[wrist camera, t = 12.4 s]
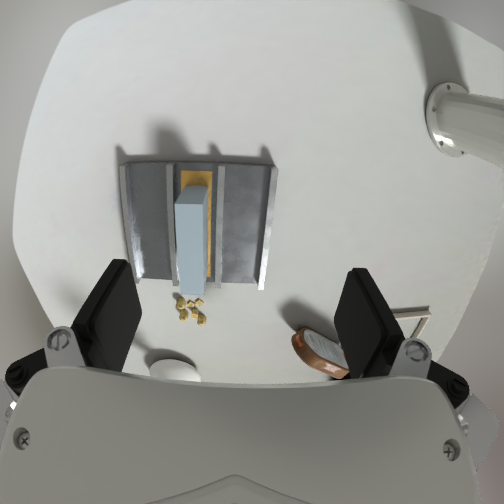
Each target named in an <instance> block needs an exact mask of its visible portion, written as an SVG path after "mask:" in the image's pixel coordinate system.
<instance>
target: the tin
mask: <svg viewBox="0 0 504 504" xmlns="http://www.w3.org/2000/svg"><path fill="white" fill-rule="evenodd" d="M291 341H292V345H293V348H294V350H295V352H296V353H297V355H298V356H299V357H300V358H301V359H302V361H303V362H305V363H306V364H307V365H308V366H310V367H312V368H314V369H316V370H318V371H321V372H323V373H326V374H328V375H330V376H333V377H335V378H338V379H341V378H343V377H344V376H345V375H346V374H347V373H348V372H349V368H348V365H347V362H346V359H345V355H344V352H343V349H342V348H341V347H340V346H339V345H338V344H337V343H335V342H334V341H332V340H330V339H328V338H326V337H325V336H323V335H321V334H319V333H318V332H316V331H314V330H312V329H310V328H307V327H304V328H302V329H301V330H299V331H298V332H297V333H296V334H294V335H293V336H292V339H291Z"/></svg>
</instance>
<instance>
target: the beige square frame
mask: <svg viewBox="0 0 504 504" xmlns="http://www.w3.org/2000/svg"><path fill="white" fill-rule="evenodd" d="M393 315H394V317H395V319H396V320H405V319H414V318H422V320H421V322H420V324H419V326H418V327H417V329H416V331H415V333H414V334H413V336H412V338H417V339H418V337H419V336H420V334H421V332H422V331H423V329H424V327H425V326H426V324H427V322H428V320H429V319H430V317H431V315H432V314H431V313H430V312H429V310H427V311H416V312H405V313H393Z"/></svg>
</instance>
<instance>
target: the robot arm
mask: <svg viewBox="0 0 504 504" xmlns="http://www.w3.org/2000/svg"><path fill="white" fill-rule="evenodd" d="M426 119H427V126H428V130H429V133H430V136H431V138H432V140H433V142H434V144H435V145H436V146H437V148H438V149H439V150H440V151H442V152H443V153H444V154H446V155H449V156H452V157H462V156H464V155H466V154H467V153H469V154H471V155H474V156H476V157H479V158H481V159H484V160H486V161H488V162H490V163H493V164H495V165H497V166H499V167H502V168H504V99H499V98H494V97H488V96H482V95H475V94H469V93H468V92H467V91H466V90H465V89H464V88H463V87H462V86H460V85H458V84H456V83H451V82H444V83H441V84H439V85H437V86H436V87H435V88H434V89H433V90H432V92H431V94H430V96H429V99H428V102H427V108H426ZM141 316H142V309H141V305H140V301H139V297H138V293H137V289H136V285H135V281H134V276H133V272H132V267H131V264H130V263H128V262H127V260H125V259H113V260H112V261H111V263H110V264H109V266H108V267H107V269H106V270H105V272H104V273H103V275H102V276H101V278H100V279H99V281H98V282H97V284H96V285H95V287H94V288H93V290H92V292H91V293H90V295H89V296H88V298H87V300H86V301H85V303H84V304H83V306H82V308H81V309H80V311H79V313H78V314H77V316H76V318H75V320H74V321H73V324H72V326H71V327H70V328H69V327H66V326H60V327H56V328H54V329H52V330H51V331H50V332H49V333H48V334H47V335H46V337H45V339H44V348H42V349H40V350H38V351H36V352H34V353H32V354H30V355H28V356H26V357H24V358H22V359H20V360H17V361H15V362H14V363H12V364H11V365H10V366H9V367H8V369H7V371H6V374H5V381H4V382H3V380H0V504H482V501H481V495H480V489H479V484H478V479H477V475H476V471H477V470H478V468H479V466H480V465H481V463H482V462H483V460H484V458H485V456H486V454H487V453H488V451H489V449H490V447H491V446H492V444H493V442H494V440H495V438H496V436H497V434H498V432H499V429H500V422H499V419H498V417H497V416H496V415H495V414H494V413H493V412H492V411H491V410H490V409H489V408H488V407H487V406H486V405H485V404H484V403H483V402H482V401H481V400H480V399H478V397H476V396H475V395H474V394H472V395H470V394H469V385H468V383H467V381H466V380H465V379H464V378H463V377H461V376H460V375H458V374H456V373H454V372H453V371H451V370H449V369H447V368H445V367H443V366H441V365H440V364H438V363H436V362H434V361H432V360H431V358H432V353H431V350H430V348H429V346H428V345H427V344H426V343H425V342H423V341H422V340H420V339H417V338H407V339H405V337H404V335H403V332H402V330H401V328H400V326H399V324H398V322H397V321H396V319H395V317H394V315H393V313H392V311H391V310H390V308H389V306H388V304H387V302H386V301H385V299H384V297H383V295H382V294H381V292H380V290H379V289H378V287H377V285H376V283H375V282H374V280H373V278H372V277H371V275H370V273H369V272H368V270H367V269H366V268H353V269H352V271H349V272H348V274H347V278H346V281H345V284H344V288H343V291H342V294H341V297H340V301H339V304H338V307H337V310H336V313H335V316H334V324H335V327H336V330H337V333H338V337H339V340H340V343H341V346H342V349H343V352H344V355H345V359H346V362H347V365H348V368H349V372H350V375H351V378H352V379H350V380H339V381H327V382H313V383H293V384H231V383H211V382H197V381H185V380H175V379H166V378H158V377H150V376H143V375H136V374H130V373H123V372H122V369H123V366H124V363H125V360H126V357H127V354H128V352H129V349H130V346H131V343H132V340H133V338H134V335H135V332H136V330H137V327H138V324H139V322H140V319H141Z"/></svg>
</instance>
